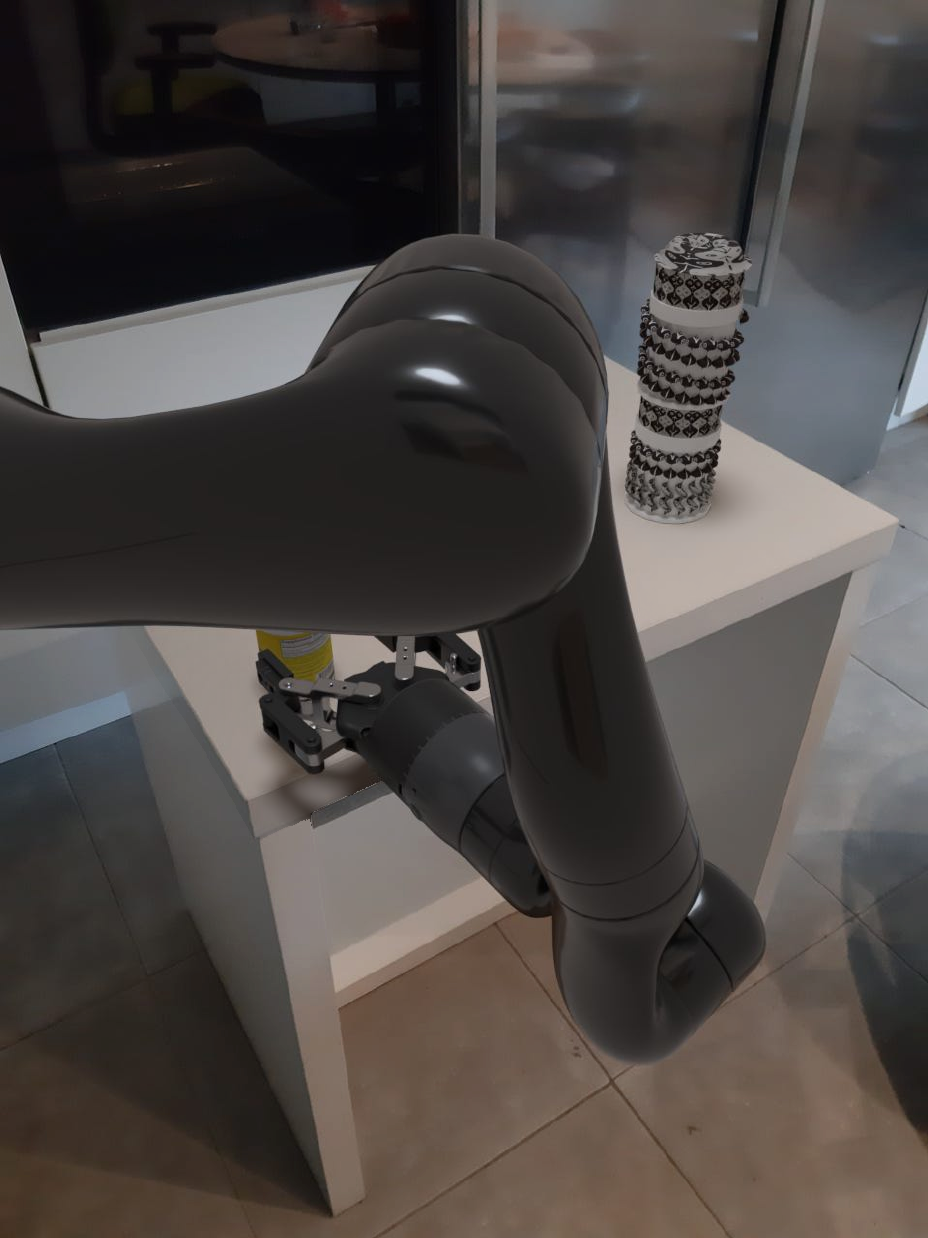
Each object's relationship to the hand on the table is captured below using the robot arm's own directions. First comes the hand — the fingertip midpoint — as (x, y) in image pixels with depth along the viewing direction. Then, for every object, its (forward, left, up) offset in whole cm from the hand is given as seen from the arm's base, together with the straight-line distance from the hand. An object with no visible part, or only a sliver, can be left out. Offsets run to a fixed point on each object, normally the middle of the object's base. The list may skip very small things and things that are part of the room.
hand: (316, 636), depth 69 cm
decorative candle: (+40, -15, -7) cm, 43 cm away
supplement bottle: (+2, +3, -7) cm, 8 cm away
